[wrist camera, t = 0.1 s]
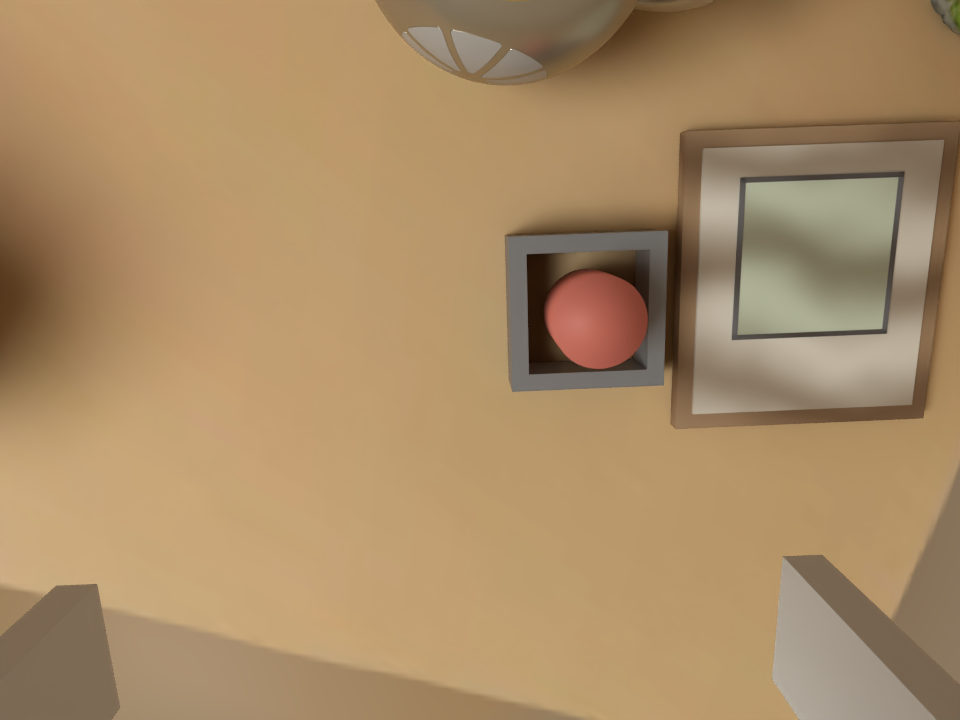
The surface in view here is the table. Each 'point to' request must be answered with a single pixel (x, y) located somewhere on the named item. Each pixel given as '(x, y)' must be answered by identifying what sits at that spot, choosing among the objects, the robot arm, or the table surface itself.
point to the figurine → (949, 12)
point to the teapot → (513, 33)
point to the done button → (595, 318)
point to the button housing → (647, 282)
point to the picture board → (808, 272)
